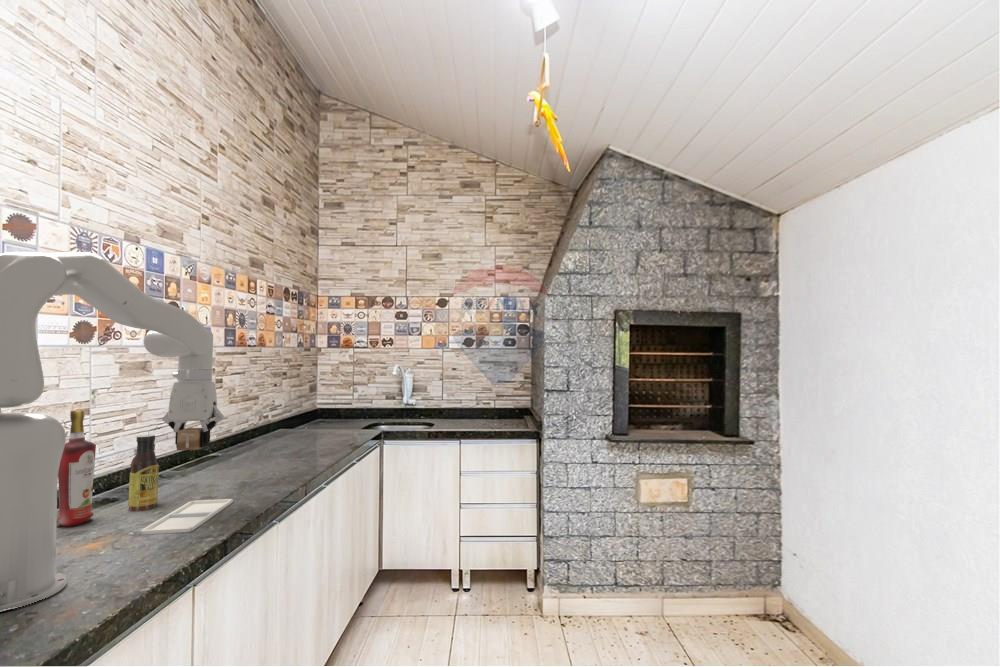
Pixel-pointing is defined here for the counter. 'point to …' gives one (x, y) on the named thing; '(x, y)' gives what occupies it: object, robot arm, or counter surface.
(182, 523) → the tray
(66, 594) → the counter surface
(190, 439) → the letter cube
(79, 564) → the counter surface
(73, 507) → the liquor
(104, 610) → the counter surface
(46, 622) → the counter surface
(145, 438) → the sauce bottle
